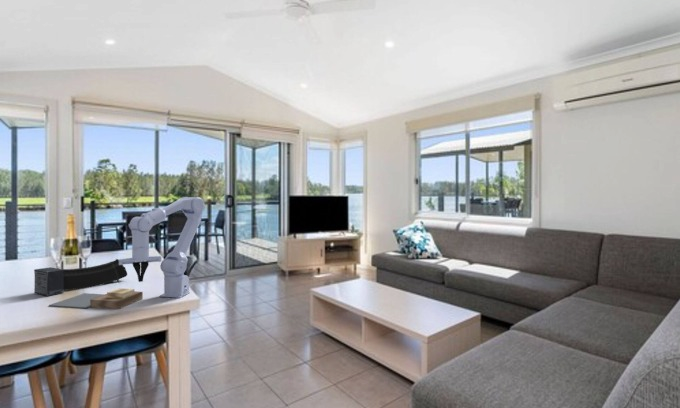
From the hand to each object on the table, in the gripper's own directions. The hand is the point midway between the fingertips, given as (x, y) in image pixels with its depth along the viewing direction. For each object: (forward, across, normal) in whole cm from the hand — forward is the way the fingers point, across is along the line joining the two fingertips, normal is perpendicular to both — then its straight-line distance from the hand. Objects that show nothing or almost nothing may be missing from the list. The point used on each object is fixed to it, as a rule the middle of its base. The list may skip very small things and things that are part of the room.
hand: (140, 281), depth 137 cm
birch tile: (+6, +6, -6) cm, 11 cm away
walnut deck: (+9, +8, -6) cm, 14 cm away
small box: (+10, +32, -36) cm, 50 cm away
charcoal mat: (+9, +18, -16) cm, 26 cm away
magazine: (+10, +18, -41) cm, 46 cm away
